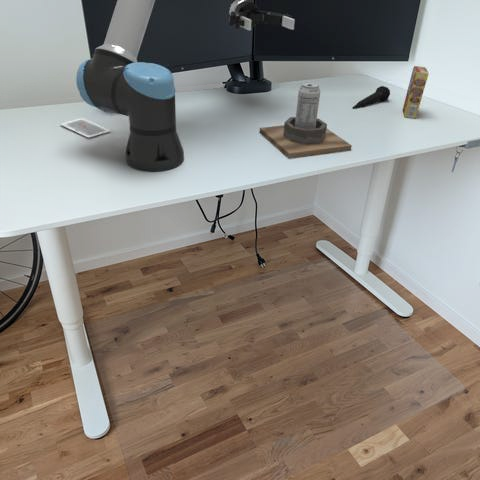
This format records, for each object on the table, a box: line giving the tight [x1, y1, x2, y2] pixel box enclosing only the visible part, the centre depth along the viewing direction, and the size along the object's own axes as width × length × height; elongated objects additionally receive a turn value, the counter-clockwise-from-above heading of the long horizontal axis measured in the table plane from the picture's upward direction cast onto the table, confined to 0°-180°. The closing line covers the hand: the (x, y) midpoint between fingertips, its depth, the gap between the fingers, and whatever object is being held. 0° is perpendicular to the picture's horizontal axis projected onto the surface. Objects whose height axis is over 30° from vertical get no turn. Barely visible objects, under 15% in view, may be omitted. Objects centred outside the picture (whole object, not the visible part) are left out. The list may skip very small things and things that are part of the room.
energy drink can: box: [295, 81, 321, 129], centre depth 131 cm, size 6×6×15 cm
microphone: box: [352, 85, 391, 110], centre depth 168 cm, size 6×6×20 cm
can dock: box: [259, 116, 352, 159], centre depth 135 cm, size 20×20×6 cm
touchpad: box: [59, 117, 112, 138], centre depth 137 cm, size 8×15×2 cm, turn 49°
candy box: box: [402, 65, 429, 119], centre depth 156 cm, size 9×4×15 cm, turn 167°
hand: (271, 24), depth 131 cm, fingers open, 13 cm apart
